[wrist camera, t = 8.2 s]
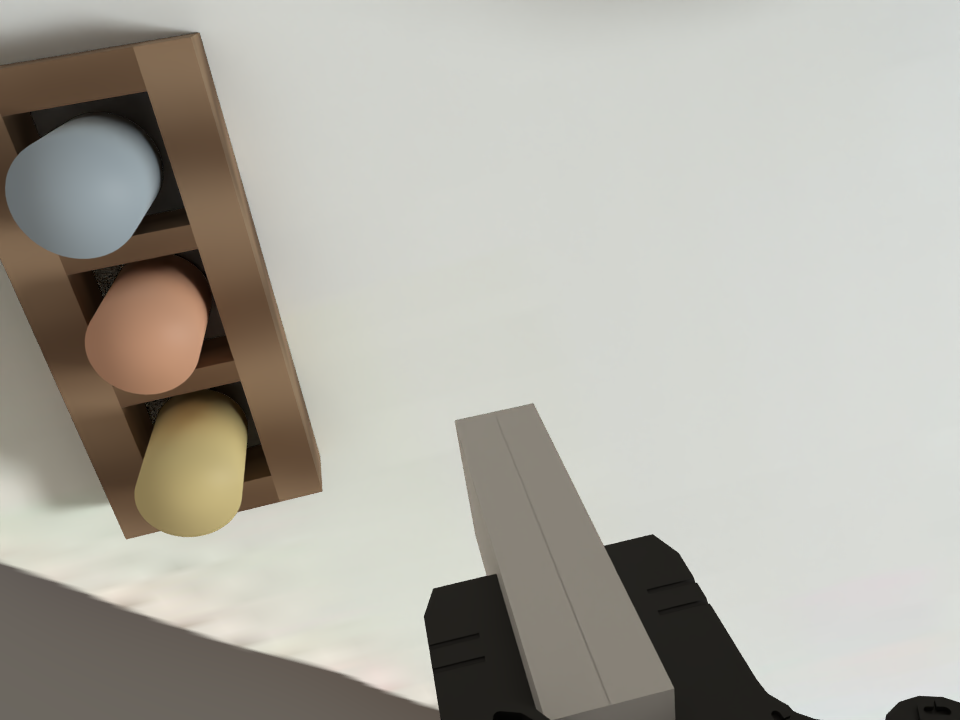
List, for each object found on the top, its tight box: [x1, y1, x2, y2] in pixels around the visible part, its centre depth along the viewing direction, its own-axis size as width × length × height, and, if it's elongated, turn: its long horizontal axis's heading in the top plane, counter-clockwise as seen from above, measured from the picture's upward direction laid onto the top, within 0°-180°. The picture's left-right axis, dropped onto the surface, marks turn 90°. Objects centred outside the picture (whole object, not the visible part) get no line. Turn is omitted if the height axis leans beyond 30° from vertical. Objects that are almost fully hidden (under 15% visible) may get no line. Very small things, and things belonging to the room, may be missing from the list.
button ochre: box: [135, 389, 248, 537], centre depth 33 cm, size 4×4×5 cm
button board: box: [0, 33, 322, 539], centre depth 33 cm, size 20×9×3 cm, turn 8°
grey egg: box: [5, 112, 164, 259], centre depth 28 cm, size 4×4×5 cm
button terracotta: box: [85, 254, 212, 395], centre depth 32 cm, size 4×4×5 cm
